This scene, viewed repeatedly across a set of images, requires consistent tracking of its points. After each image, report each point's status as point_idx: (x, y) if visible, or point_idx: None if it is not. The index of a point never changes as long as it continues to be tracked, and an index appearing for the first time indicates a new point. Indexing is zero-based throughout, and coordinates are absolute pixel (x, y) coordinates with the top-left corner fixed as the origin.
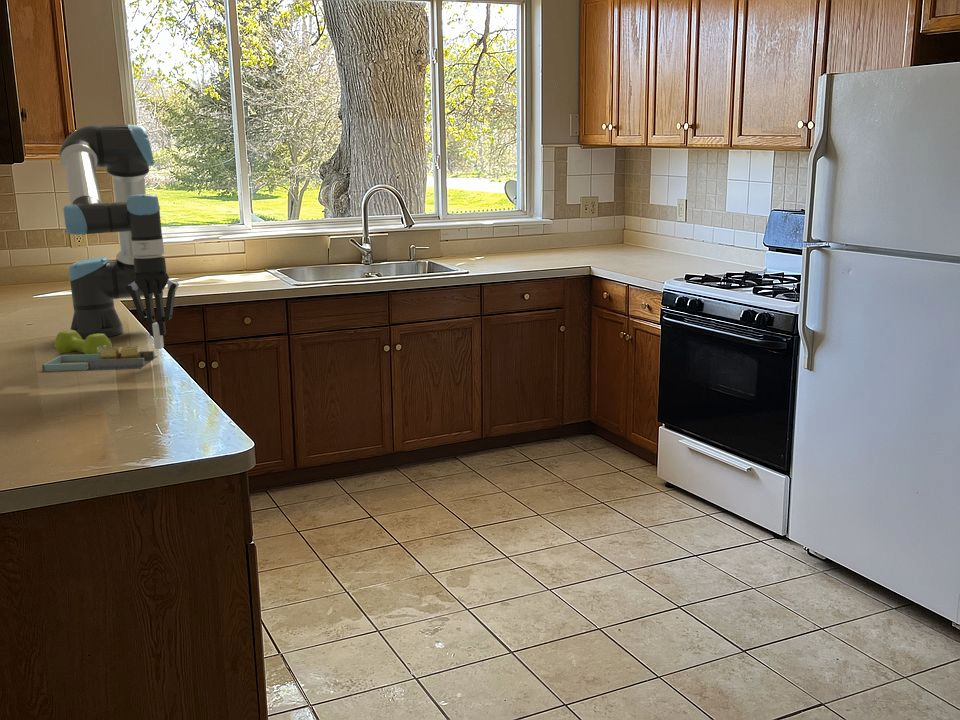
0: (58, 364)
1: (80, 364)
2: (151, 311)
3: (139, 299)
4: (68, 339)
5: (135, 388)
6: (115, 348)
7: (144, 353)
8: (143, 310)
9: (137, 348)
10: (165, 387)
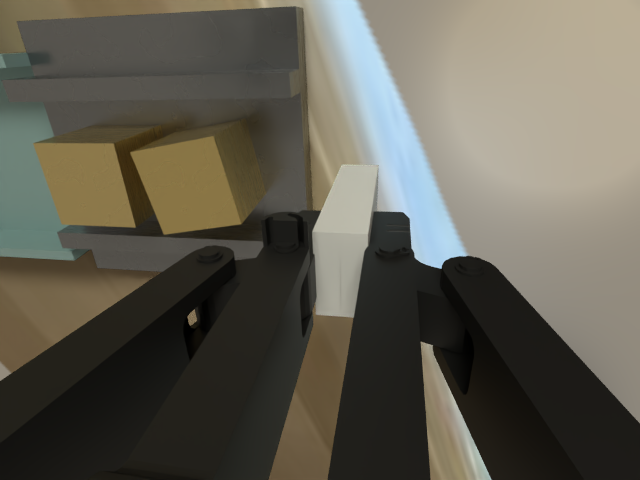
0: None
1: (57, 258)
2: (292, 384)
3: (56, 467)
4: None
5: None
6: (112, 191)
7: (244, 98)
8: (183, 349)
9: (237, 209)
10: (463, 440)
